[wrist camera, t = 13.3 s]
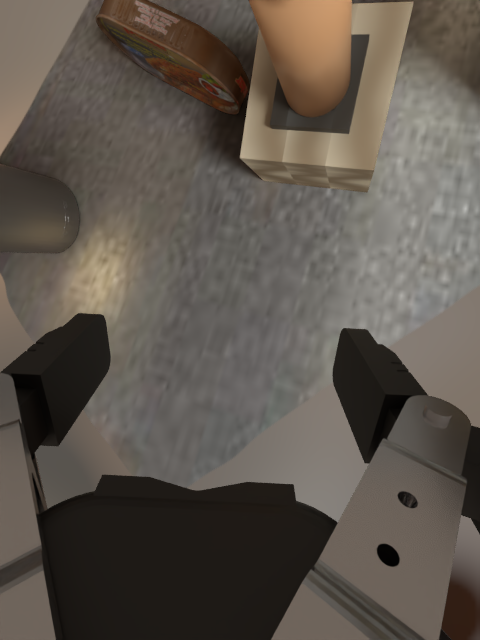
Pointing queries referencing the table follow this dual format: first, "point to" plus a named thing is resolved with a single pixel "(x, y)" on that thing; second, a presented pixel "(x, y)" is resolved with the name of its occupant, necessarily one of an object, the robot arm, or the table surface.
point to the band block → (340, 123)
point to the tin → (176, 52)
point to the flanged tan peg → (308, 50)
